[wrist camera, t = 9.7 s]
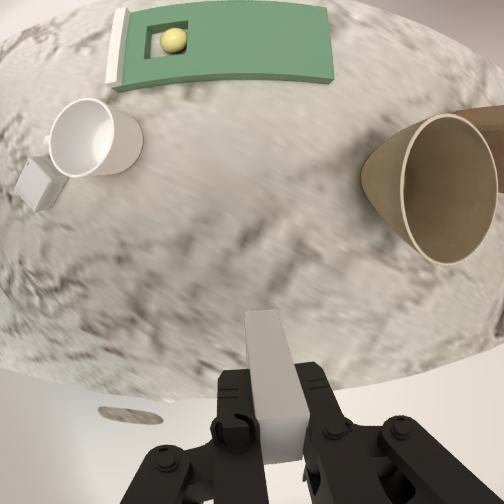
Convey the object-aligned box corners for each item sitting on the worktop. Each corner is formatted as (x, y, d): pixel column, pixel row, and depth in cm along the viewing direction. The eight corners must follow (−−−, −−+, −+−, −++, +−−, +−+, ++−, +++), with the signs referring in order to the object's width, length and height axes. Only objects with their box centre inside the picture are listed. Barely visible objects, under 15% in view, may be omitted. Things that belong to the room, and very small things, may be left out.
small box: (31, 186, 32) (12, 189, 27) (48, 155, 31) (29, 155, 26) (52, 208, 33) (34, 214, 29) (70, 176, 33) (51, 178, 28)
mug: (66, 171, 32) (22, 175, 22) (74, 114, 30) (32, 103, 20) (140, 176, 34) (108, 179, 24) (149, 114, 31) (121, 95, 21)
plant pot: (322, 137, 34) (383, 119, 19) (409, 122, 34) (486, 112, 18) (347, 243, 38) (409, 287, 23) (426, 217, 38) (500, 243, 23)
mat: (118, 92, 30) (105, 83, 26) (125, 22, 26) (115, 9, 22) (328, 84, 32) (340, 74, 27) (321, 15, 28) (330, 1, 24)
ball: (171, 58, 30) (153, 51, 27) (172, 37, 29) (155, 29, 26) (192, 51, 28) (175, 43, 25) (194, 29, 27) (177, 20, 24)
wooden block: (446, 185, 37) (543, 206, 18) (424, 129, 34) (525, 122, 15) (476, 161, 36) (563, 173, 17) (457, 109, 33) (546, 101, 14)
